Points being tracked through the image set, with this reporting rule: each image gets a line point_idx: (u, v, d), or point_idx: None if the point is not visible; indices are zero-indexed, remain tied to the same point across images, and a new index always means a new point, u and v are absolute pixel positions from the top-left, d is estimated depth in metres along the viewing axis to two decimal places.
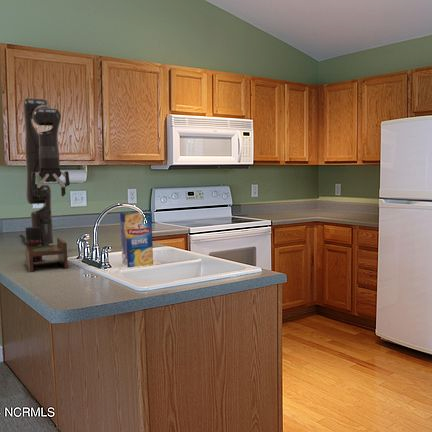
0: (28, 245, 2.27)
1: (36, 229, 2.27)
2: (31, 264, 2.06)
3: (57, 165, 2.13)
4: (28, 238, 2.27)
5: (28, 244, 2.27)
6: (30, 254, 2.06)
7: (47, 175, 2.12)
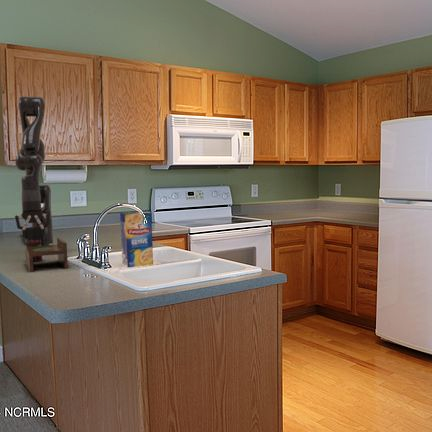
0: (28, 245, 2.27)
1: (36, 229, 2.27)
2: (31, 264, 2.06)
3: (38, 207, 2.27)
4: (28, 238, 2.27)
5: (28, 244, 2.27)
6: (30, 254, 2.06)
7: (29, 217, 2.26)
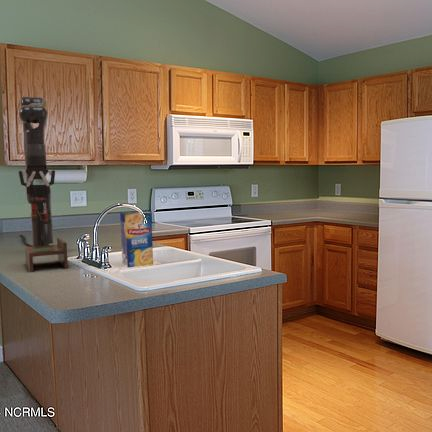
0: (32, 203, 2.13)
1: (41, 186, 2.14)
2: (31, 264, 2.06)
3: (44, 162, 2.14)
4: (32, 195, 2.13)
5: (32, 202, 2.13)
6: (30, 254, 2.06)
7: (34, 172, 2.13)
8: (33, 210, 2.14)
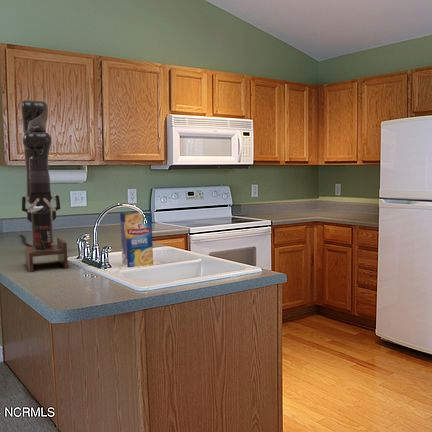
0: (36, 231, 2.11)
1: (45, 214, 2.12)
2: (31, 264, 2.06)
3: (47, 189, 2.11)
4: (36, 224, 2.11)
5: (36, 230, 2.11)
6: (30, 254, 2.06)
7: (37, 200, 2.10)
8: (37, 239, 2.12)
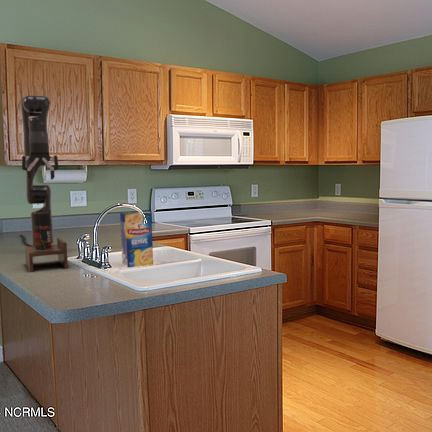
0: (36, 231, 2.11)
1: (45, 214, 2.12)
2: (31, 264, 2.06)
3: (46, 149, 2.24)
4: (36, 224, 2.11)
5: (36, 230, 2.11)
6: (30, 254, 2.06)
7: (37, 159, 2.23)
8: (37, 239, 2.12)
